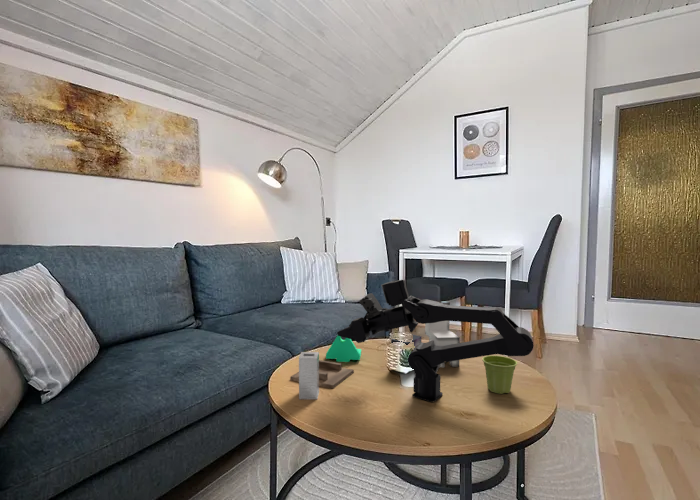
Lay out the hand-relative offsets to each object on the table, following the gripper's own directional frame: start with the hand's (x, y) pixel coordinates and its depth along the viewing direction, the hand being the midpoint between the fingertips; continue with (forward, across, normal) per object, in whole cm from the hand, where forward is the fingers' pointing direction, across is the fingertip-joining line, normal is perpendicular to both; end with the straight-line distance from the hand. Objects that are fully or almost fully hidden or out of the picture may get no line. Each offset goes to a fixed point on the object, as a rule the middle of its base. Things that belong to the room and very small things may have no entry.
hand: (343, 330), depth 116 cm
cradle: (+13, -2, +13) cm, 18 cm away
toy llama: (-19, -31, +23) cm, 43 cm away
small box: (-9, -19, +20) cm, 29 cm away
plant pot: (-37, -12, +29) cm, 48 cm away
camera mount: (+13, -21, +13) cm, 28 cm away
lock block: (+10, +12, +14) cm, 21 cm away
